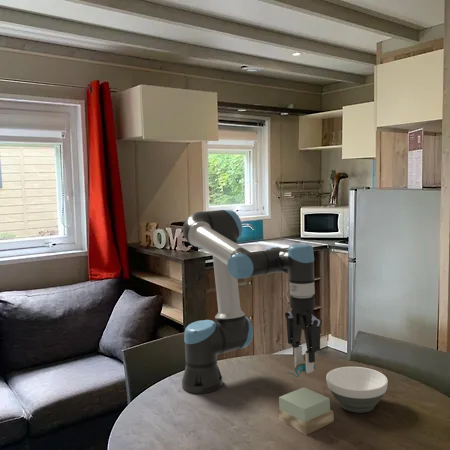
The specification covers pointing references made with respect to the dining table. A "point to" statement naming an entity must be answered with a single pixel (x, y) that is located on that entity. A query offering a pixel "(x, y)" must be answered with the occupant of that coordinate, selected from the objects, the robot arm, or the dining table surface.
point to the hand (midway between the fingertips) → (304, 369)
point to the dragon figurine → (301, 368)
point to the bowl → (357, 387)
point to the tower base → (306, 426)
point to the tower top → (304, 404)
